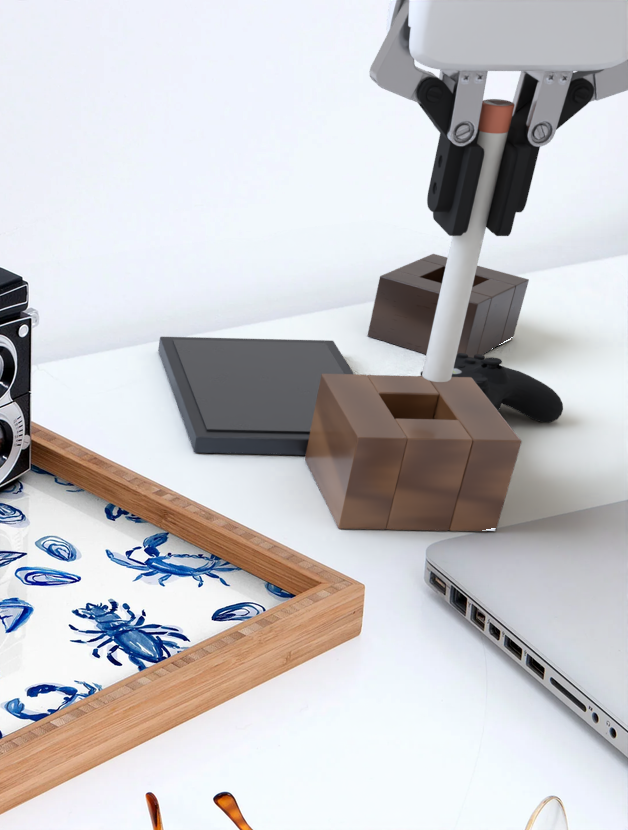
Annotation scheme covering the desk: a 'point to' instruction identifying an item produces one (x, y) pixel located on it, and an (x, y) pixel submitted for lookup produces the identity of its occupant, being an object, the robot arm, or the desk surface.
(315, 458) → the front stand
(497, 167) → the stylus
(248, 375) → the tablet
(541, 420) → the game controller
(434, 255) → the back stand
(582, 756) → the desk surface
